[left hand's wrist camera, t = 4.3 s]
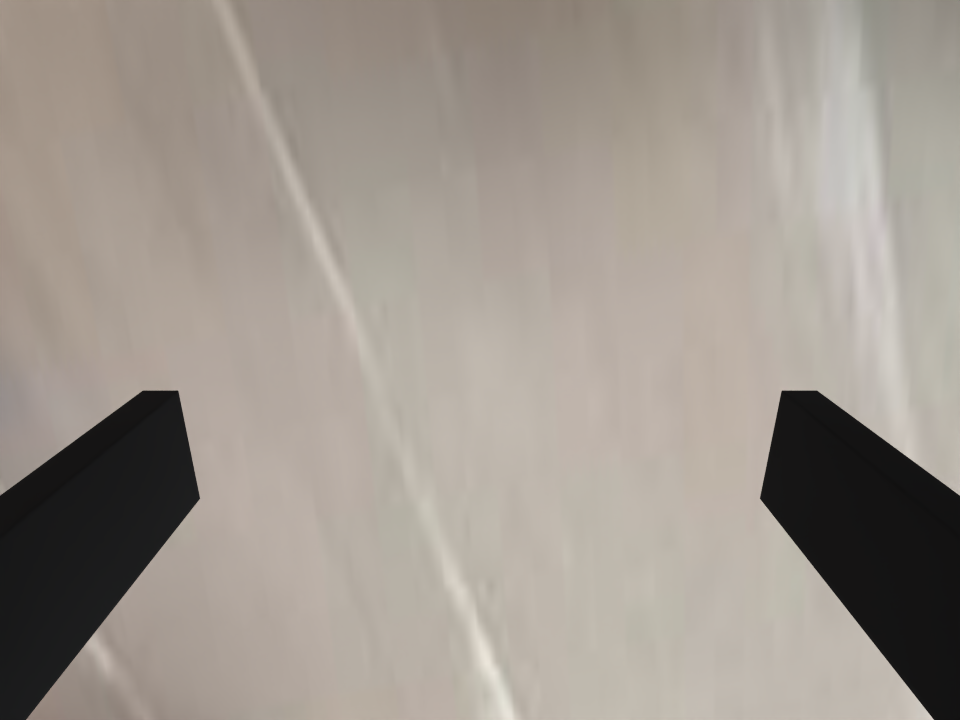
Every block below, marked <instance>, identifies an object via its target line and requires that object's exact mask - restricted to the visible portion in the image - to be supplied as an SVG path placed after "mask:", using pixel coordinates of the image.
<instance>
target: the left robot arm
mask: <svg viewBox="0 0 960 720" xmlns="http://www.w3.org/2000/svg"><path fill="white" fill-rule="evenodd" d="M199 499H200V496H199V491H198V486H197V481H196V477H195V472H194V467H193V462H192V457H191V452H190V447H189V442H188V437H187V432H186V427H185V422H184V417H183V412H182V407H181V402H180V397H179V392H178V391H142V392H141V393H139V394H138V395H136V396H135V397H134V398H132V399H131V400H130V401H128V402H127V403H126V404H124V405H123V406H122V407H120V408H119V409H117V410H116V411H115V412H113V413H112V414H111V415H109V416H108V417H107V418H105V419H104V420H102V421H101V422H100V423H98V424H97V425H96V426H94V427H93V428H92V429H90V430H89V431H88V432H86V433H85V434H83V435H82V436H81V437H79V438H78V439H77V440H75V441H74V442H73V443H71V444H70V445H69V446H67V447H66V448H64V449H63V450H62V451H60V452H59V453H58V454H56V455H55V456H54V457H52V458H51V459H49V460H48V461H47V462H45V463H44V464H43V465H41V466H40V467H39V468H37V469H36V470H35V471H33V472H32V473H30V474H29V475H28V476H26V477H25V478H24V479H22V480H21V481H20V482H18V483H17V484H15V485H14V486H13V487H11V488H10V489H9V490H7V491H6V492H5V493H3V494H2V495H1V496H0V720H26V719H27V718H28V716H29V715H30V714H31V713H32V711H33V710H34V709H35V708H36V706H37V705H38V704H39V702H40V701H41V700H42V699H43V697H44V696H45V695H46V694H47V692H48V691H49V690H50V688H51V687H52V686H53V685H54V683H55V682H56V681H57V680H58V678H59V677H60V676H61V674H62V673H63V672H64V671H65V669H66V668H67V667H68V666H69V664H70V663H71V662H72V661H73V659H74V658H75V657H76V655H77V654H78V653H79V652H80V650H81V649H82V648H83V647H84V645H85V644H86V643H87V641H88V640H89V639H90V638H91V636H92V635H93V634H94V633H95V631H96V630H97V629H98V627H99V626H100V625H101V624H102V622H103V621H104V620H105V619H106V617H107V616H108V615H109V614H110V612H111V611H112V610H113V608H114V607H115V606H116V605H117V603H118V602H119V601H120V600H121V598H122V597H123V596H124V594H125V593H126V592H127V591H128V589H129V588H130V587H131V586H132V584H133V583H134V582H135V580H136V579H137V578H138V577H139V575H140V574H141V573H142V572H143V570H144V569H145V568H146V566H147V565H148V564H149V563H150V561H151V560H152V559H153V558H154V556H155V555H156V554H157V553H158V551H159V550H160V549H161V547H162V546H163V545H164V544H165V542H166V541H167V540H168V539H169V537H170V536H171V535H172V533H173V532H174V531H175V530H176V528H177V527H178V526H179V525H180V523H181V522H182V521H183V519H184V518H185V517H186V516H187V514H188V513H189V512H190V511H191V509H192V508H193V507H194V506H195V504H196V503H197V502H198V500H199ZM760 499H761V500H762V502H763V503H764V504H765V506H766V507H767V508H768V509H769V511H770V512H771V513H772V514H773V516H774V517H775V518H776V519H777V521H778V522H779V523H780V525H781V526H782V527H783V528H784V530H785V531H786V532H787V533H788V535H789V536H790V537H791V539H792V540H793V541H794V542H795V544H796V545H797V546H798V547H799V549H800V550H801V551H802V553H803V554H804V555H805V556H806V558H807V559H808V560H809V561H810V563H811V564H812V565H813V566H814V568H815V569H816V570H817V572H818V573H819V574H820V575H821V577H822V578H823V579H824V580H825V582H826V583H827V584H828V586H829V587H830V588H831V589H832V591H833V592H834V593H835V594H836V596H837V597H838V598H839V600H840V601H841V602H842V603H843V605H844V606H845V607H846V608H847V610H848V611H849V612H850V614H851V615H852V616H853V617H854V619H855V620H856V621H857V622H858V624H859V625H860V626H861V627H862V629H863V630H864V631H865V633H866V634H867V635H868V636H869V638H870V639H871V640H872V641H873V643H874V644H875V645H876V647H877V648H878V649H879V650H880V652H881V653H882V654H883V655H884V657H885V658H886V659H887V661H888V662H889V663H890V664H891V666H892V667H893V668H894V669H895V671H896V672H897V673H898V674H899V676H900V677H901V678H902V680H903V681H904V682H905V683H906V685H907V686H908V687H909V688H910V690H911V691H912V692H913V694H914V695H915V696H916V697H917V699H918V700H919V701H920V702H921V704H922V705H923V706H924V708H925V709H926V710H927V711H928V713H929V714H930V715H931V716H932V718H933V719H934V720H960V496H959V495H958V494H957V493H955V492H954V491H953V490H951V489H950V488H949V487H947V486H946V485H945V484H943V483H942V482H940V481H939V480H938V479H936V478H935V477H934V476H932V475H931V474H930V473H928V472H927V471H925V470H924V469H923V468H921V467H920V466H919V465H917V464H916V463H915V462H913V461H912V460H911V459H909V458H908V457H906V456H905V455H904V454H902V453H901V452H900V451H898V450H897V449H896V448H894V447H893V446H891V445H890V444H889V443H887V442H886V441H885V440H883V439H882V438H881V437H879V436H878V435H877V434H875V433H874V432H872V431H871V430H870V429H868V428H867V427H866V426H864V425H863V424H862V423H860V422H859V421H858V420H856V419H855V418H853V417H852V416H851V415H849V414H848V413H847V412H845V411H844V410H843V409H841V408H840V407H838V406H837V405H836V404H834V403H833V402H832V401H830V400H829V399H828V398H826V397H825V396H824V395H822V394H821V393H819V392H818V391H782V392H781V397H780V402H779V407H778V412H777V417H776V422H775V427H774V432H773V437H772V442H771V447H770V452H769V457H768V462H767V467H766V472H765V477H764V481H763V486H762V491H761V496H760Z"/></svg>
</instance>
